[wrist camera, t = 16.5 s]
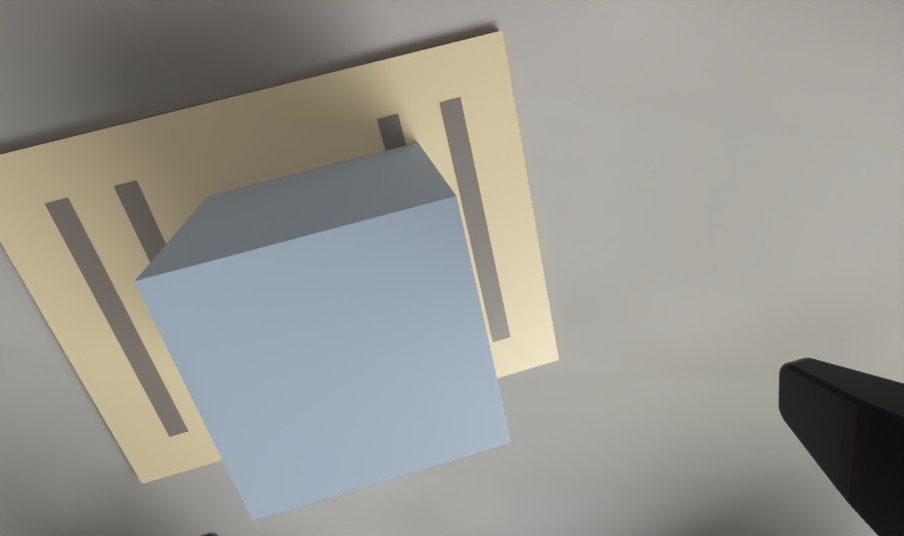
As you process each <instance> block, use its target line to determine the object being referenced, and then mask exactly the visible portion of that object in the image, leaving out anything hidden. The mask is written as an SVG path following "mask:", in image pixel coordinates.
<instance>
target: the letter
mask: <svg viewBox="0 0 904 536" xmlns="http://www.w3.org/2000/svg"><path fill="white" fill-rule="evenodd" d="M414 143H419V144H420V146H421V147H422V149H423V150H424V151H425V153H426V154H427V156H428V157H429V158H430V160H431V161H432V162H433V164H434V165H435V167H436V168H437V169H438V171H439V172H440V174H441V175H442V176H443V178H444V179H445V181H446V182H447V183H448V185H449V186H450V188H451V189H452V190H453V192H454V193H455V195H456V196H457V201H458V205H459V210H460V214H461V219H462V223H463V228H464V232H465V237H466V241H467V246H468V250H469V254H470V259H471V263H472V268H473V272H474V277H475V281H476V286H477V290H478V295H479V299H480V304H481V308H482V313H483V317H484V322H485V326H486V331H487V335H488V340H489V344H490V349H491V353H492V357H493V362H494V366H495V371H496V375H497V378H500V377H503V376H506V375H510V374H513V373H516V372H520V371H523V370H527V369H530V368H533V367H537V366H540V365H543V364H547V363H550V362H553V361H557V360H559V358H558V352H557V347H556V341H555V335H554V329H553V323H552V317H551V312H550V306H549V300H548V294H547V288H546V282H545V277H544V271H543V265H542V259H541V253H540V247H539V242H538V236H537V230H536V224H535V218H534V212H533V207H532V201H531V195H530V189H529V183H528V177H527V172H526V166H525V160H524V154H523V148H522V142H521V137H520V131H519V125H518V119H517V113H516V107H515V102H514V96H513V90H512V84H511V78H510V72H509V67H508V61H507V55H506V49H505V43H504V37H503V31H497V32H493V33H489V34H485V35H481V36H477V37H472V38H468V39H464V40H460V41H456V42H452V43H448V44H444V45H440V46H436V47H432V48H428V49H424V50H420V51H416V52H412V53H408V54H404V55H400V56H396V57H392V58H388V59H384V60H379V61H375V62H371V63H367V64H363V65H359V66H355V67H351V68H347V69H343V70H339V71H335V72H331V73H327V74H323V75H319V76H315V77H311V78H307V79H303V80H299V81H295V82H291V83H287V84H282V85H278V86H274V87H270V88H266V89H262V90H258V91H254V92H250V93H246V94H242V95H238V96H234V97H230V98H226V99H222V100H218V101H214V102H210V103H206V104H202V105H198V106H194V107H189V108H185V109H181V110H177V111H173V112H169V113H165V114H161V115H157V116H153V117H149V118H145V119H141V120H137V121H133V122H129V123H125V124H121V125H117V126H113V127H109V128H105V129H101V130H96V131H92V132H88V133H84V134H80V135H76V136H72V137H68V138H64V139H60V140H56V141H52V142H48V143H44V144H40V145H36V146H32V147H28V148H24V149H20V150H16V151H12V152H8V153H3V154H0V242H1V244H2V246H3V248H4V249H5V251H6V253H7V254H8V256H9V258H10V260H11V261H12V263H13V265H14V266H15V268H16V270H17V271H18V273H19V275H20V277H21V278H22V280H23V282H24V283H25V285H26V287H27V289H28V290H29V292H30V294H31V295H32V297H33V299H34V300H35V302H36V304H37V306H38V307H39V309H40V311H41V312H42V314H43V316H44V318H45V319H46V321H47V323H48V324H49V326H50V328H51V330H52V331H53V333H54V335H55V336H56V338H57V340H58V341H59V343H60V345H61V347H62V348H63V350H64V352H65V353H66V355H67V357H68V359H69V360H70V362H71V364H72V365H73V367H74V369H75V370H76V372H77V374H78V376H79V377H80V379H81V381H82V382H83V384H84V386H85V388H86V389H87V391H88V393H89V394H90V396H91V398H92V400H93V401H94V403H95V405H96V406H97V408H98V410H99V411H100V413H101V415H102V417H103V418H104V420H105V422H106V423H107V425H108V427H109V429H110V430H111V432H112V434H113V435H114V437H115V439H116V440H117V442H118V444H119V446H120V447H121V449H122V451H123V452H124V454H125V456H126V458H127V459H128V461H129V463H130V464H131V466H132V468H133V470H134V471H135V473H136V475H137V476H138V478H139V480H140V481H141V483H142V484H144V483H147V482H151V481H154V480H157V479H161V478H164V477H167V476H171V475H174V474H177V473H181V472H184V471H187V470H191V469H194V468H198V467H201V466H204V465H208V464H211V463H214V462H218V461H221V460H222V458H221V456H220V454H219V452H218V450H217V448H216V446H215V444H214V442H213V440H212V438H211V436H210V434H209V432H208V430H207V428H206V426H205V424H204V422H203V420H202V418H201V416H200V414H199V412H198V410H197V408H196V406H195V404H194V402H193V400H192V398H191V396H190V394H189V392H188V389H187V387H186V385H185V383H184V381H183V379H182V377H181V375H180V373H179V371H178V369H177V367H176V365H175V363H174V361H173V359H172V357H171V355H170V353H169V351H168V349H167V347H166V345H165V343H164V341H163V339H162V337H161V335H160V333H159V331H158V329H157V327H156V325H155V323H154V321H153V319H152V317H151V315H150V313H149V311H148V309H147V306H146V304H145V302H144V300H143V298H142V296H141V294H140V292H139V290H138V288H137V286H136V284H135V282H134V281H135V280H136V279H137V278H138V276H139V275H140V274H141V273H142V272H143V271H144V269H145V268H146V267H147V266H148V265H149V264H150V262H151V261H152V260H153V259H154V258H155V257H156V255H157V254H158V253H159V252H160V251H161V250H162V248H163V247H164V246H165V245H166V244H167V243H168V241H169V240H170V239H171V238H172V237H173V236H174V234H175V233H176V232H177V231H178V230H179V229H180V227H181V226H182V225H183V224H184V223H185V222H186V220H187V219H188V218H189V217H190V216H191V215H192V214H193V212H194V211H195V210H196V209H197V208H198V207H199V205H200V204H201V203H202V202H203V201H204V200H205V198H206V197H207V196H211V195H215V194H219V193H222V192H226V191H230V190H234V189H238V188H242V187H246V186H250V185H254V184H258V183H261V182H265V181H269V180H273V179H277V178H281V177H285V176H289V175H293V174H297V173H300V172H304V171H308V170H312V169H316V168H320V167H324V166H328V165H332V164H336V163H340V162H343V161H347V160H351V159H355V158H359V157H363V156H367V155H371V154H375V153H379V152H382V151H386V150H390V149H394V148H398V147H402V146H406V145H410V144H414Z"/></svg>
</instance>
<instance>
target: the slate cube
mask: <svg viewBox="0 0 904 536" xmlns="http://www.w3.org/2000/svg"><path fill="white" fill-rule="evenodd" d="M134 282H135V284H136V286H137V288H138V290H139V292H140V294H141V296H142V298H143V300H144V302H145V304H146V306H147V309H148V311H149V313H150V315H151V317H152V319H153V321H154V323H155V325H156V327H157V329H158V331H159V333H160V335H161V337H162V339H163V341H164V343H165V345H166V347H167V349H168V351H169V353H170V355H171V357H172V359H173V361H174V363H175V365H176V367H177V369H178V371H179V373H180V375H181V377H182V379H183V381H184V383H185V385H186V387H187V389H188V392H189V394H190V396H191V398H192V400H193V402H194V404H195V406H196V408H197V410H198V412H199V414H200V416H201V418H202V420H203V422H204V424H205V426H206V428H207V430H208V432H209V434H210V436H211V438H212V440H213V442H214V444H215V446H216V448H217V450H218V452H219V454H220V456H221V458H222V460H223V462H224V464H225V466H226V468H227V470H228V472H229V475H230V477H231V479H232V481H233V483H234V485H235V487H236V489H237V491H238V493H239V495H240V497H241V499H242V501H243V503H244V505H245V507H246V509H247V511H248V513H249V515H250V517H251V519H252V521H255V520H258V519H261V518H265V517H268V516H271V515H275V514H278V513H281V512H284V511H288V510H291V509H294V508H298V507H301V506H304V505H308V504H311V503H314V502H318V501H321V500H324V499H328V498H331V497H334V496H337V495H341V494H344V493H347V492H351V491H354V490H357V489H361V488H364V487H367V486H371V485H374V484H377V483H381V482H384V481H387V480H391V479H394V478H397V477H400V476H404V475H407V474H410V473H414V472H417V471H420V470H424V469H427V468H430V467H434V466H437V465H440V464H444V463H447V462H450V461H453V460H457V459H460V458H463V457H467V456H470V455H473V454H477V453H480V452H483V451H487V450H490V449H493V448H497V447H500V446H503V445H507V444H510V443H511V438H510V434H509V429H508V425H507V420H506V416H505V411H504V407H503V402H502V398H501V393H500V389H499V384H498V380H497V375H496V371H495V366H494V362H493V357H492V353H491V349H490V344H489V340H488V335H487V331H486V326H485V322H484V317H483V313H482V308H481V304H480V299H479V295H478V290H477V286H476V281H475V277H474V272H473V268H472V263H471V259H470V254H469V250H468V246H467V241H466V237H465V232H464V228H463V223H462V219H461V214H460V210H459V205H458V201H457V196H456V195H455V193H454V192H453V190H452V189H451V188H450V186H449V185H448V183H447V182H446V181H445V179H444V178H443V176H442V175H441V174H440V172H439V171H438V169H437V168H436V167H435V165H434V164H433V162H432V161H431V160H430V158H429V157H428V156H427V154H426V153H425V151H424V150H423V149H422V147H421V146H420V144H419V143H414V144H410V145H406V146H402V147H398V148H394V149H390V150H386V151H382V152H379V153H375V154H371V155H367V156H363V157H359V158H355V159H351V160H347V161H343V162H340V163H336V164H332V165H328V166H324V167H320V168H316V169H312V170H308V171H304V172H300V173H297V174H293V175H289V176H285V177H281V178H277V179H273V180H269V181H265V182H261V183H258V184H254V185H250V186H246V187H242V188H238V189H234V190H230V191H226V192H222V193H219V194H215V195H211V196H207V197H206V198H205V200H204V201H203V202H202V203H201V204H200V205H199V207H198V208H197V209H196V210H195V211H194V212H193V214H192V215H191V216H190V217H189V218H188V219H187V220H186V222H185V223H184V224H183V225H182V226H181V227H180V229H179V230H178V231H177V232H176V233H175V234H174V236H173V237H172V238H171V239H170V240H169V241H168V243H167V244H166V245H165V246H164V247H163V248H162V250H161V251H160V252H159V253H158V254H157V255H156V257H155V258H154V259H153V260H152V261H151V262H150V264H149V265H148V266H147V267H146V268H145V269H144V271H143V272H142V273H141V274H140V275H139V276H138V278H137V279H136V280H135V281H134Z"/></svg>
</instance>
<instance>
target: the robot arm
mask: <svg viewBox="0 0 904 536" xmlns="http://www.w3.org/2000/svg"><path fill="white" fill-rule="evenodd" d="M779 410H780V413H781V415H782V417H783V419H784V421H785V422H786V424H787V425H788V426H789V427H790V429H791V430H792V431H793V433H794V434H795V435H796V437H797V438H798V439H799V440H800V442H801V443H802V444H803V446H804V447H805V448H806V449H807V451H808V452H809V453H810V455H811V456H812V457H813V459H814V460H815V461H816V462H817V464H818V465H819V466H820V468H821V469H822V470H823V472H824V473H825V474H826V475H827V477H828V478H829V479H830V481H831V482H832V483H833V485H834V486H835V487H836V488H837V490H838V491H839V492H840V493H841V495H842V496H843V497H844V498H845V499H846V501H847V502H848V503H849V504H850V505H851V506H852V508H853V509H854V510H855V511H856V512H857V513H858V514H859V515H860V517H861V518H862V519H863V520H864V521H865V522H866V523H867V524H868V525H869V526H870V527H871V528H872V529H873V531H874V532H875V533H876V534H877V535H878V536H904V383H900V382H896V381H893V380H889V379H885V378H882V377H878V376H874V375H871V374H867V373H863V372H860V371H856V370H852V369H849V368H845V367H841V366H838V365H834V364H830V363H827V362H823V361H819V360H816V359H812V358H802V359H799V360H795V361H792V362H788V363H785V364H784V365H782V367H781V369H780V372H779ZM201 536H218V535H217V534H216V533H207V534H204V535H201Z"/></svg>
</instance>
